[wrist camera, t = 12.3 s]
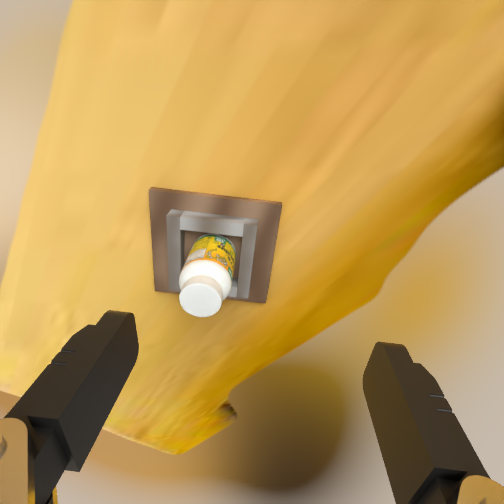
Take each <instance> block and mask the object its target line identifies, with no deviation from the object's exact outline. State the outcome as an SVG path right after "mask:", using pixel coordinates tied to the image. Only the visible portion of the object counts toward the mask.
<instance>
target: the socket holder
mask: <svg viewBox="0 0 504 504" xmlns="http://www.w3.org/2000/svg"><path fill="white" fill-rule="evenodd" d="M149 202H150V218H151V234H152V250H153V266H154V282H155V291H160V292H169V293H178V294H180V292H181V289H180V286H179V277H180V273H181V271H182V269H183V266H184V264H185V262H186V260H187V257H188V255H189V253H190V250H191V248H192V246H193V244H194V242H195V241H196V240H197V239H198V238H199V237H201V236H202V235H205V234H208V233H214V234H219V235H222V236H224V237H226V238H228V239H229V240H230V241H231V242H232V244H233V245H234V247H235V250H236V259H235V266H234V273H233V279H232V286H231V290H230V292H229V294H228V296H227V297H226V298H225V299H231V300H240V301H249V302H258V303H266V299H267V293H268V287H269V281H270V275H271V269H272V263H273V256H274V250H275V244H276V238H277V232H278V226H279V220H280V214H281V208H282V202H274V201H265V200H257V199H248V198H240V197H231V196H223V195H214V194H206V193H197V192H189V191H180V190H172V189H163V188H155V187H151V188H150V189H149Z"/></svg>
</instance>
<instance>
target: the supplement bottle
mask: <svg viewBox="0 0 504 504" xmlns="http://www.w3.org/2000/svg"><path fill="white" fill-rule="evenodd" d="M235 259H236V250H235V247H234V245H233V244H232V242H231V241H230V240H229V239H228V238H226V237H224V236H222V235H219V234H214V233H208V234H205V235H202V236H201V237H199V238H198V239H197V240H196V241H195V242H194V244H193V246H192V248H191V250H190V253H189V255H188V257H187V260H186V262H185V264H184V266H183V269H182V271H181V273H180V277H179V286H180V289H181V292H180V296H179V301H180V304H181V306H182V308H183V309H184V310H185V311H186V312H188V313H189V314H191V315H193V316H197V317H208V316H211V315H213V314H215V313H216V312H217V311H218V310H219V309H220V307H221V304H222V301H223V300H224V299H225V298H226V297H227V296H228V294H229V292H230V290H231V286H232V279H233V273H234V266H235Z"/></svg>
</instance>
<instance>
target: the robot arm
mask: <svg viewBox="0 0 504 504" xmlns="http://www.w3.org/2000/svg"><path fill="white" fill-rule="evenodd" d="M138 350H139V344H138V337H137V331H136V324H135V317H134V314H133V313H129V312H120V311H111V310H109V311H107V312H106V313H105V314H104V315H103V316H102V318H101V319H100V320H99V322H98V323H97V324H96V325H87V326H86V327H84V328H83V329H81V330H80V331H79V332H77V333H76V334H74V335H73V336H72V337H71V338H70V339H69V341H68V342H67V343H66V344H65V345H64V347H63V348H62V349H61V352H59V353H58V354H57V355H56V356H55V357H54V359H53V360H52V362H51V364H49V365H48V366H47V367H46V368H45V370H44V371H43V372H42V373H41V374H40V376H39V377H38V378H37V379H36V380H35V382H34V383H33V384H32V385H31V386H30V388H29V389H28V390H27V391H26V392H25V394H24V395H23V396H22V397H21V399H20V400H19V401H18V402H17V403H16V405H15V406H14V407H13V408H12V409H11V411H10V412H9V413H8V414H7V415H6V416H5V417H4V418H2V419H0V504H58V503H57V490H56V484H57V483H58V481H59V479H60V477H61V475H62V474H63V472H64V470H68V471H76V472H80V470H81V468H82V466H83V464H84V462H85V460H86V458H87V456H88V454H89V452H90V450H91V448H92V446H93V445H94V442H95V441H96V438H97V437H98V435H99V433H100V431H101V429H102V427H103V425H104V423H105V421H106V419H107V417H108V415H109V413H110V412H111V410H112V408H113V406H114V404H115V402H116V400H117V398H118V396H119V394H120V392H121V390H122V388H123V386H124V384H125V382H126V380H127V379H128V377H129V375H130V373H131V371H132V369H133V367H134V365H135V363H136V360H137V356H138ZM363 390H364V394H365V398H366V401H367V405H368V408H369V412H370V415H371V419H372V422H373V425H374V429H375V433H376V436H377V439H378V443H379V446H380V450H381V453H382V457H383V460H384V463H385V467H386V470H387V474H388V477H389V481H390V484H391V488H392V491H393V495H394V498H395V502H396V504H504V487H503V486H502V485H500V484H499V483H497V482H495V481H493V480H492V479H491V478H490V477H489V475H488V474H487V472H486V471H485V469H484V467H483V465H482V463H481V461H480V460H479V458H478V456H477V454H476V452H475V451H474V449H473V447H472V445H471V443H470V441H469V440H468V438H467V436H466V434H465V432H464V431H463V429H462V427H461V425H460V423H459V422H458V420H457V418H456V416H455V414H454V413H452V409H451V407H450V405H449V403H448V401H447V400H446V399H445V398H444V394H443V392H442V390H441V389H440V387H439V385H438V383H437V381H436V380H435V378H434V377H433V376H432V375H431V374H430V373H429V372H428V371H427V370H426V369H425V368H424V367H423V366H422V365H421V364H419V363H413V361H412V359H411V357H410V355H409V353H408V351H407V349H406V347H405V346H403V345H402V344H393V343H385V342H377V343H376V344H375V346H374V349H373V351H372V354H371V356H370V359H369V361H368V364H367V366H366V369H365V371H364V375H363Z"/></svg>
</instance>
